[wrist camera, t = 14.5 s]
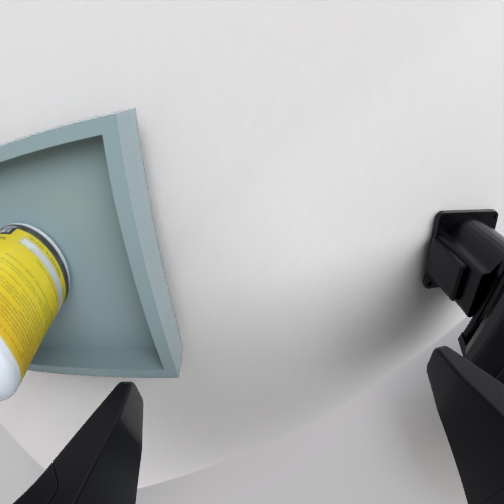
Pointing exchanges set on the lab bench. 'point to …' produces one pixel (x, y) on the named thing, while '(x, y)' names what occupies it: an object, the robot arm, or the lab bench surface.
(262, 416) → the lab bench surface
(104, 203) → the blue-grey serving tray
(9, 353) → the pill bottle
